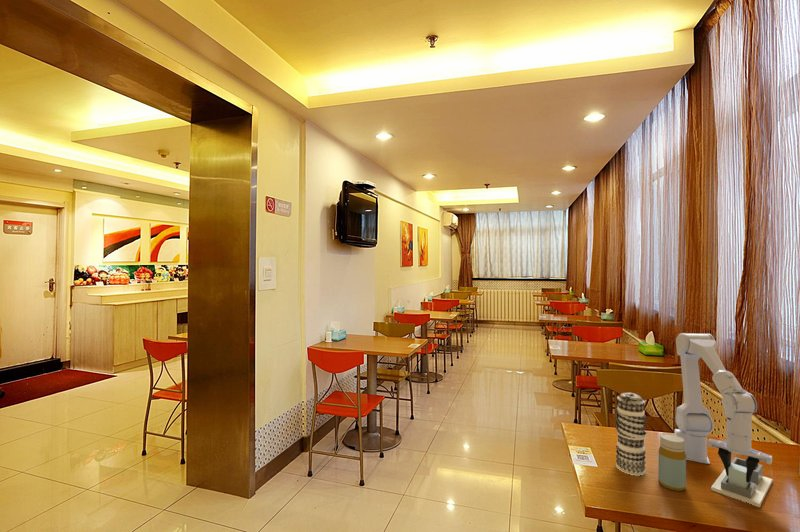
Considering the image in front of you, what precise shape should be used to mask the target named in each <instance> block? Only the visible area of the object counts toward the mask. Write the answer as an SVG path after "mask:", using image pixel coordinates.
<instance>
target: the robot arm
mask: <svg viewBox="0 0 800 532" xmlns="http://www.w3.org/2000/svg"><path fill="white" fill-rule="evenodd" d="M675 344H676V345H675V346H676V354H677V355H678V356H679V357H680V365H681V366H680V367H681V378H682V379H681V380H682V390H683V400H684V402H683V403H682V404H681V405H679V406H677V407H676V412H675V420H674V421H675V423H676V424H675V425H676V426H677V427H678V428H675V429H674V431H673V432H674V433H673V434H674V435H678V436H680V437H682V438H683V439H684V441H685V443H684V452H685V454H686V461H690V462H695V463H696V462H697V463H701V464H707V465H711V462H710V459H709V457H708V447H709V448H715V449H718V450H717V455H718V456H719V458H720V460H721V462H722V464H723V467H724V469H725V470H726V475H727V476H729V466H730V465H731V461H732V454H735V455H737V456H743V457H747V458H746V459H745V460H746V467H747V474H746V482H748V483H750V481H751V476H752V473H753V471H754V469H755V467H756V466H757V464H760V462H764V463H765V464H767V465H772V463H773V456H772V454H771V455H770V454H767V453H764V452H762V451H759V450H756V449H755V448H752V434H753V433H752V431H753V430H752V427H753V426H752V425H753V424H752V419H753V416H752V415H753V414H755V413H756V412H757V411H758V402H757V400H756V398H755V396H754V395H753V394H752V393H750V392H748V391H747V390H746V389H744V388H743V387H742V385H741V384H740V382H739V381H738V379H737V378H736V376H735V375H734V373H733V372H731V371H728V370H726V368H725V366H724V364H723V362H722V360H721V358H720V356H719V354H718V352H717V341H716V340H715V337H714V336H713V335H712V334H711V333H686V332H680V333H679V334H678V335H677V336H676V338H675ZM700 359H702V360H703V362H704V364H706V366H707V367H708V368H709V370H710V371H711V372H712V374H713V375H712V378H711V379H712V381H713V383H714V384H715V386H716V388H717V390H718V391H719V393H720V395H721V396H722V397H721V404H722V407H723V409H724V410H723V413H724V416H726V430H725V431H726V434H725V435H726V436H725V437H726V438H725V439H726V440H724V441H723V440H717V439H713V438H709V439H708V436H710V433H712V432H713V430H714V427H715V425H714V420H713V417H712V414H711V412H712V411H710V409H708V408H707V407H706V406H704V405H703V399H702V388H701V377H700V365H699V360H700Z"/></svg>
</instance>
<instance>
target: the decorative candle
mask: <svg viewBox="0 0 800 532" xmlns="http://www.w3.org/2000/svg"><path fill="white" fill-rule="evenodd" d="M616 398H617V408H615V411H614V413H615V418H614V420H615V424H616V428H615V431H616V434H617V441H616V443H617V444H616V445H615V448H616V450H615V452H616V455H615V458H616V459H615V462H616V463H615V464H616V465H615V466H616V467H615V468H616V469H619V470H618V471H620V470H621V471H622V473H623V472H625V473H624V474H626V473H627V474H626V475H628V474H630V476H633V475H635V476H634V477H641V476H644V475H645V474H646V470H645V469H646V465H645V464H646V463H647V462H646V460H645V459H646V455H645V454H646V453H647V452H646V450H645V444H644V443H645V439H646V434H647V432H646V430H647V427H646V426H645V425H646V424H647V423H648V422H647V421H646V420H647V418H648V417H647V415H646V414H645V403H646V401H645V400H644V399H643V398H642V396H641V395H639V394H637V393H633V392H621V393H620V394H619V395H617V397H616ZM621 471H620V472H621ZM640 475H641V476H640Z"/></svg>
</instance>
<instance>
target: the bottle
mask: <svg viewBox="0 0 800 532" xmlns="http://www.w3.org/2000/svg"><path fill="white" fill-rule="evenodd" d="M659 437H660V438H659V443H660V444H659V448H658V460H657V461H658V468H657V469H658V472H657V475H658V482H659V484H660V485H661V486H662V487H664V488H665V487H666V489H667V488H668V489H667V490H670V491H673V490H675V491H674V492H682V491H684V490H685V489H686V488H687V460H686V454H685V452H684V443H685V441H684V439H683V438H682V437H680V436H678V435H674V433H666V432H665V433H661V434H660V435H659Z"/></svg>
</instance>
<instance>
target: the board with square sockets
mask: <svg viewBox="0 0 800 532" xmlns="http://www.w3.org/2000/svg"><path fill="white" fill-rule="evenodd" d="M746 460H747V459H743V458H741V457H740V458H739V457H737V456H734V458H733V459H731V463H733V464H737V465H740V466H743V467H746ZM746 468H747V467H746ZM763 470H764V467H763V464H760V463H758V464H757V466H756V467H755V469H754V471H753V473H752V476H751V481H750V483H749V489H748V490H747V489H744V488H741V487H738V486H735V485H732V484H729V483H728V481H729V476H727V475H726V470H725V468H724V469H723V470H722V472H721V473H720V475H719V476H718V477H717V478H716V480H715V481H714V482H713V484H712V485H711V486H710V489H711V491H713V492H716V493H718V494H721V495H724V496H727V497H729V498H733V499H734V498H735V500H737V499H738V500H737V501H740V500H741V501H740V502H743V503H746V502H747V503H746V504H748V503H749V505H751V504H752V505H751V506H755V507H757V508H761V506H762V503H763V502H764V500H765V498H766V496H767V493H768V492H769V490H770V488H771V486H772V484H773V478H770V477H767V476H764V475H763V474H764V473H763Z"/></svg>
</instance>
